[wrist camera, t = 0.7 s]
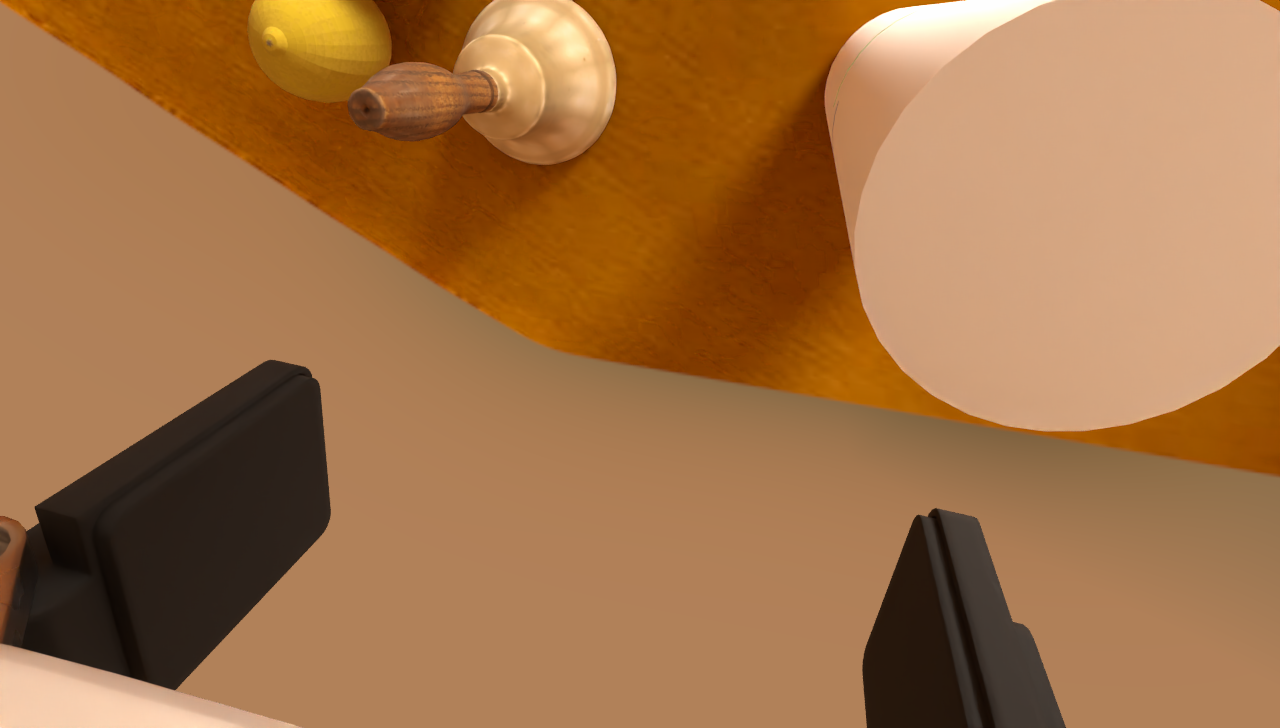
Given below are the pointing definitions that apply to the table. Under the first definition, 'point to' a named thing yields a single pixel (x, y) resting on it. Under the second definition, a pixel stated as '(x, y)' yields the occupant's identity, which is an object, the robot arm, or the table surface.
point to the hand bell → (505, 84)
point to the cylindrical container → (1065, 200)
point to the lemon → (319, 45)
